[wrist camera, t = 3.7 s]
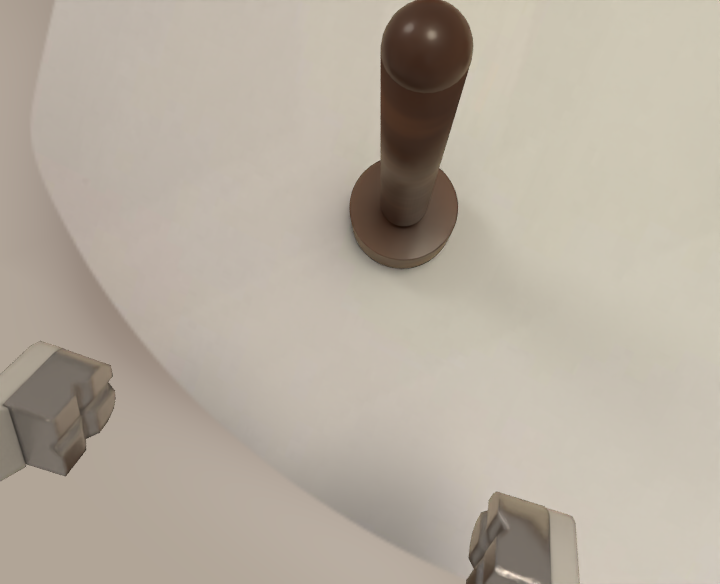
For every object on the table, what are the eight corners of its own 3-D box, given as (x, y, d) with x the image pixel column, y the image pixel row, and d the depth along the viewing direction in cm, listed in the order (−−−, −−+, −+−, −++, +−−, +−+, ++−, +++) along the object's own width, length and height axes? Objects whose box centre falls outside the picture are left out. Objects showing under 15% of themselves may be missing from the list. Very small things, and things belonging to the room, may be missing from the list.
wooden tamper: (358, 275, 29) (328, 150, 12) (346, 178, 30) (300, -66, 13) (458, 261, 29) (569, 116, 12) (443, 165, 30) (528, -101, 13)
